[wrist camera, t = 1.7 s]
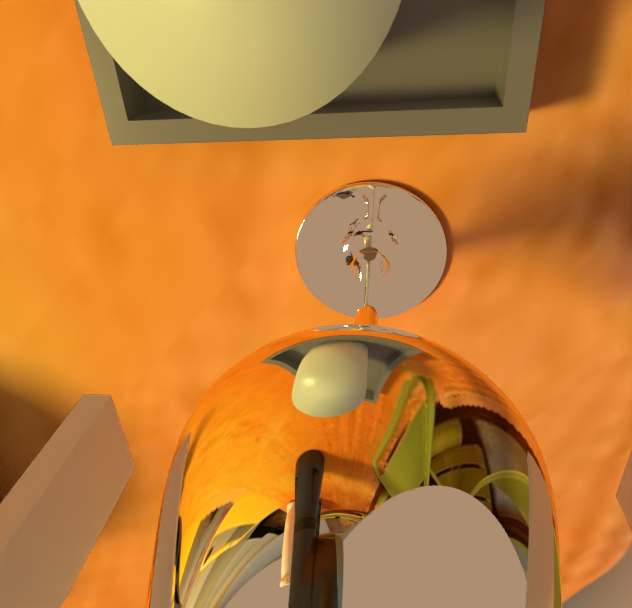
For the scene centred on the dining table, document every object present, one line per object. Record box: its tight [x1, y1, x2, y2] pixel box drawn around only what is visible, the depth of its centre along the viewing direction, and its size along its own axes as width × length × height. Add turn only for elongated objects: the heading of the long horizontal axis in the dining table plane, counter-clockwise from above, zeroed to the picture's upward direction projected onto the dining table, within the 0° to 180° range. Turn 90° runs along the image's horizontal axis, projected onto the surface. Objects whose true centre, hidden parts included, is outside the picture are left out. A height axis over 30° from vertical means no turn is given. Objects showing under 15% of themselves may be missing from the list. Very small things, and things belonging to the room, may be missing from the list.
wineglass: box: [145, 181, 562, 608], centre depth 14 cm, size 8×8×18 cm
